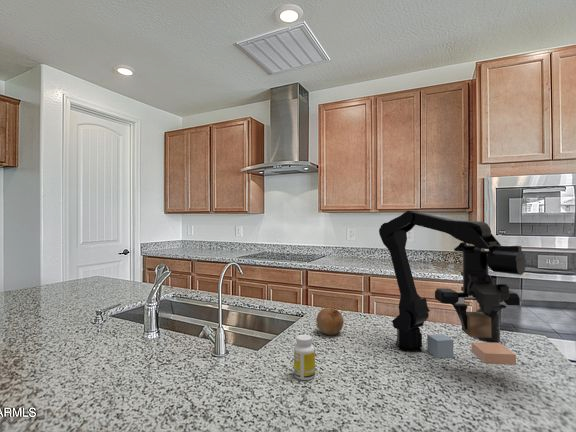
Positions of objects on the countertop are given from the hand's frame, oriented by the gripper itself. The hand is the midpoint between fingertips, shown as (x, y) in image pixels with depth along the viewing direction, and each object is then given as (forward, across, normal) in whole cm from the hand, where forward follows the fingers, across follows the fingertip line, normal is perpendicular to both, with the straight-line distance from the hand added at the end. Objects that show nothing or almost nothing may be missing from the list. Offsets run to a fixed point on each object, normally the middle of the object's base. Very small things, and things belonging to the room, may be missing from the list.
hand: (476, 329), depth 82 cm
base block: (+11, +9, +10) cm, 17 cm away
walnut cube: (+1, 0, 0) cm, 1 cm away
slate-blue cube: (+11, -5, +11) cm, 16 cm away
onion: (+11, -37, +24) cm, 46 cm away
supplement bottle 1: (+11, -44, -7) cm, 46 cm away
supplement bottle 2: (+11, +15, +25) cm, 31 cm away
